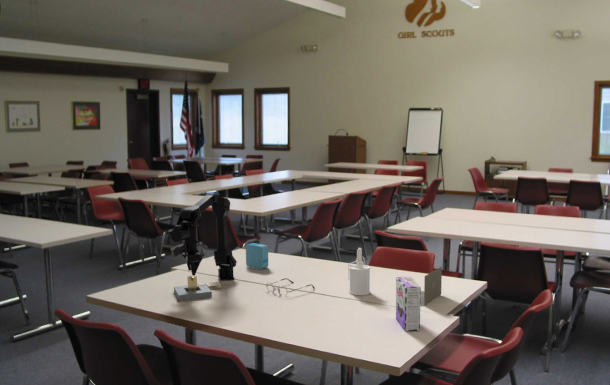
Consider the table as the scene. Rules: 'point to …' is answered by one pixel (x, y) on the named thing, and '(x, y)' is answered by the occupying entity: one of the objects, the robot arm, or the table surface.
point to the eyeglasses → (283, 286)
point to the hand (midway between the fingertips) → (191, 272)
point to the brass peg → (192, 283)
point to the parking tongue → (213, 285)
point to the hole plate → (192, 292)
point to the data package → (257, 255)
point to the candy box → (408, 303)
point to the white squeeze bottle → (359, 276)
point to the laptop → (431, 287)
